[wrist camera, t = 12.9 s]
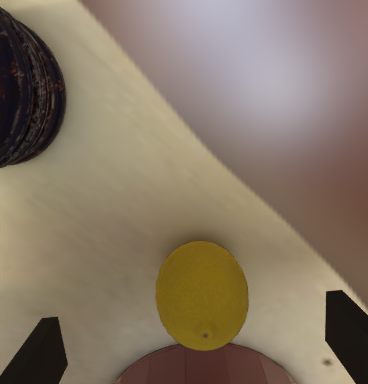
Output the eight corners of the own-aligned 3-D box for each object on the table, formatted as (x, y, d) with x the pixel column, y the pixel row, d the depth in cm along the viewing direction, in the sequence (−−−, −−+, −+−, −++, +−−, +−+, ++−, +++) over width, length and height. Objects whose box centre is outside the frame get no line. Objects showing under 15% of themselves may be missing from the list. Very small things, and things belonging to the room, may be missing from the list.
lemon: (221, 214, 20) (244, 267, 12) (244, 280, 21) (278, 366, 14) (150, 238, 21) (129, 304, 13) (175, 301, 22) (171, 397, 14)
